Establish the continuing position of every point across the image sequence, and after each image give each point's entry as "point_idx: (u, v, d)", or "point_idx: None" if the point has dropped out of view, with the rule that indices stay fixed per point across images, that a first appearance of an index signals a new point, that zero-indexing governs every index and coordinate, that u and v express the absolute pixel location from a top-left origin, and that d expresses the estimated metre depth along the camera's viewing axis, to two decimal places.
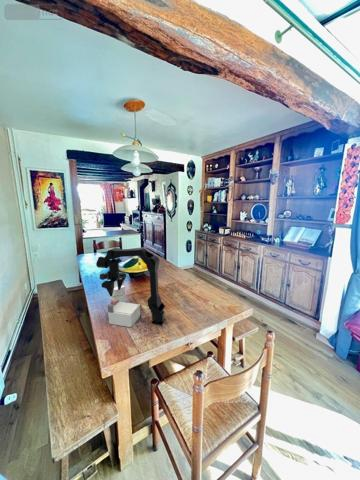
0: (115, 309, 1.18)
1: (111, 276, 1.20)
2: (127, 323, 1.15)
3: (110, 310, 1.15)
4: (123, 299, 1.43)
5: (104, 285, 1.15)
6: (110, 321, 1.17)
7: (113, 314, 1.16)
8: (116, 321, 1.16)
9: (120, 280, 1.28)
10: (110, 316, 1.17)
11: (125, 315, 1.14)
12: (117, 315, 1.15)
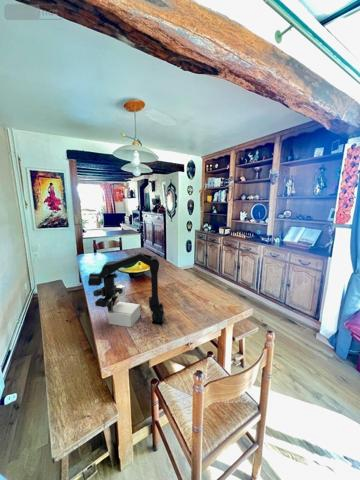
0: (115, 309, 1.18)
1: (106, 293, 1.11)
2: (127, 323, 1.15)
3: None
4: (123, 299, 1.43)
5: (98, 303, 1.05)
6: (110, 321, 1.17)
7: (113, 314, 1.16)
8: (116, 321, 1.16)
9: (112, 299, 1.15)
10: (110, 316, 1.17)
11: (125, 315, 1.14)
12: (117, 315, 1.15)
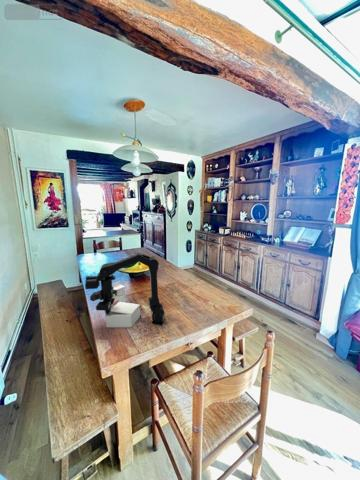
0: (115, 309, 1.18)
1: (105, 296, 1.07)
2: (127, 324, 1.14)
3: None
4: (123, 299, 1.43)
5: (100, 307, 1.02)
6: (108, 325, 1.14)
7: (111, 317, 1.13)
8: (115, 324, 1.14)
9: (110, 301, 1.13)
10: (108, 319, 1.13)
11: (125, 316, 1.13)
12: (116, 317, 1.13)
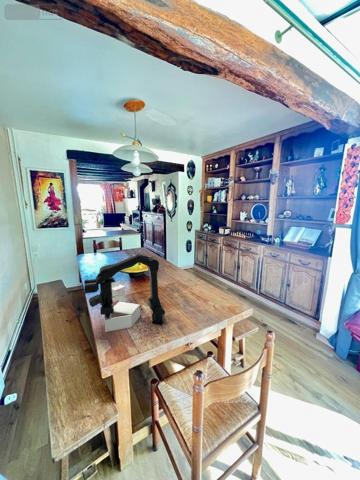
0: (115, 309, 1.18)
1: (106, 299, 1.04)
2: (127, 324, 1.14)
3: None
4: (123, 299, 1.43)
5: (105, 311, 0.98)
6: (107, 329, 1.10)
7: (110, 320, 1.10)
8: (114, 326, 1.11)
9: None
10: (107, 323, 1.10)
11: (125, 317, 1.12)
12: (116, 320, 1.11)
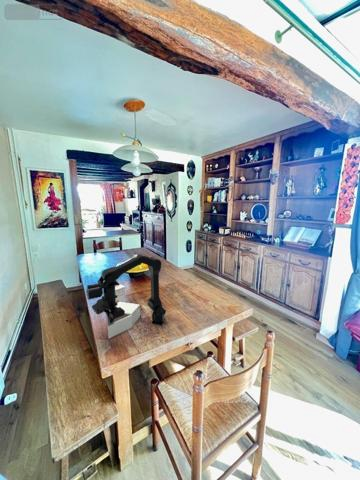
0: None
1: (112, 303, 1.00)
2: (128, 325, 1.13)
3: None
4: (123, 299, 1.43)
5: (118, 314, 0.96)
6: (110, 335, 1.05)
7: (113, 325, 1.06)
8: (117, 330, 1.08)
9: None
10: (110, 329, 1.05)
11: (126, 318, 1.11)
12: (118, 323, 1.08)
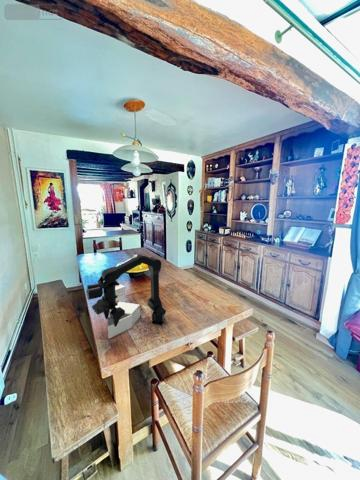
0: None
1: (112, 303, 1.00)
2: (128, 325, 1.13)
3: (111, 322, 1.04)
4: (123, 299, 1.43)
5: (118, 314, 0.96)
6: (111, 335, 1.05)
7: (113, 325, 1.06)
8: (117, 330, 1.08)
9: None
10: (110, 329, 1.05)
11: (126, 318, 1.11)
12: (118, 323, 1.08)
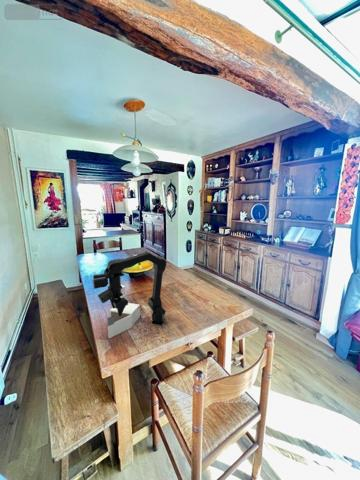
0: (115, 309, 1.18)
1: (116, 293, 1.03)
2: (128, 325, 1.13)
3: (111, 322, 1.04)
4: None
5: (121, 304, 0.98)
6: (111, 335, 1.05)
7: (113, 325, 1.06)
8: (117, 330, 1.08)
9: None
10: (110, 329, 1.05)
11: (126, 318, 1.11)
12: (118, 323, 1.08)
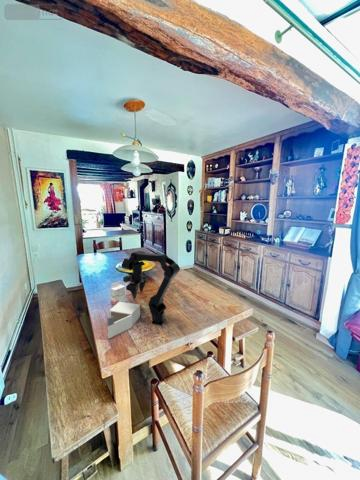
0: (115, 309, 1.18)
1: (135, 279, 1.21)
2: (128, 325, 1.13)
3: (111, 322, 1.04)
4: (123, 299, 1.43)
5: (129, 288, 1.16)
6: (111, 335, 1.05)
7: (113, 325, 1.06)
8: (117, 330, 1.08)
9: (142, 282, 1.29)
10: (110, 329, 1.05)
11: (126, 318, 1.11)
12: (118, 323, 1.08)
